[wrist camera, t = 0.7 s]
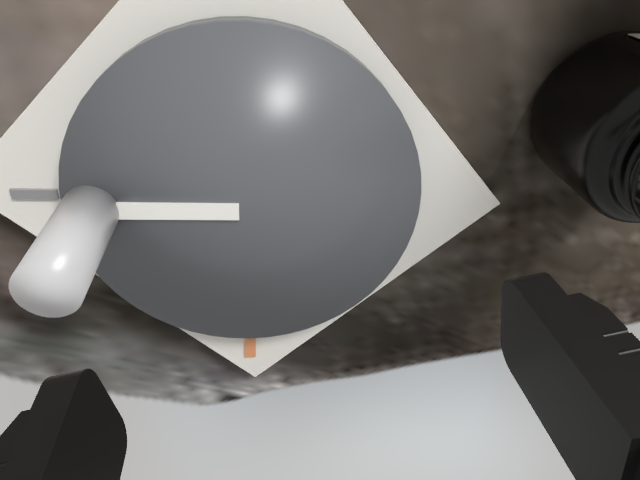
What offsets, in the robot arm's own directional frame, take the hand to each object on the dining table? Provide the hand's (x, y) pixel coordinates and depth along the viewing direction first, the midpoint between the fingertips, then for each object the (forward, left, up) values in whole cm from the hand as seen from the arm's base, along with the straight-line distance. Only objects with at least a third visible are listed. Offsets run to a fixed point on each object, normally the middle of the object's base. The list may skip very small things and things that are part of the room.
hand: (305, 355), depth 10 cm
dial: (+6, +4, -20) cm, 21 cm away
